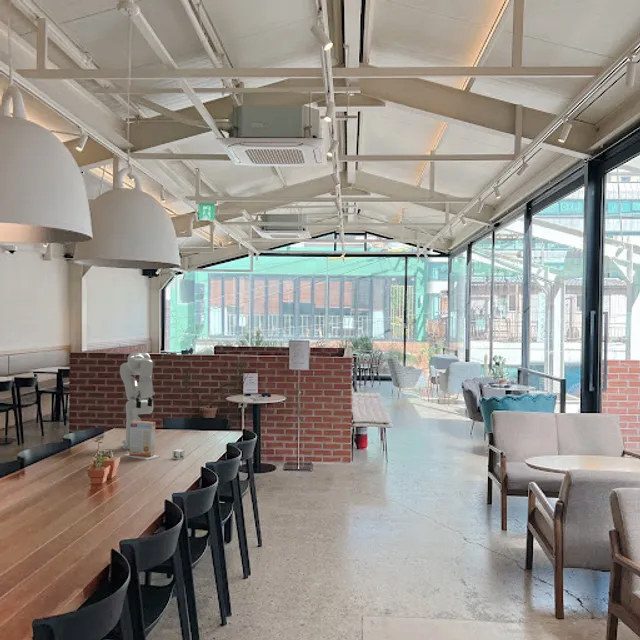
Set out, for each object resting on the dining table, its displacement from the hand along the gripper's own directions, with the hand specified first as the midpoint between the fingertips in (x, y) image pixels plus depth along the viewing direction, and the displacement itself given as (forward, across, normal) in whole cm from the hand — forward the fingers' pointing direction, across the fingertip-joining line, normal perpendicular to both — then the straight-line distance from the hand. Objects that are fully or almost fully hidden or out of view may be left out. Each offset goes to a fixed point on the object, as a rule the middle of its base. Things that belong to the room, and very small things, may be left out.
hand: (144, 407), depth 368 cm
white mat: (+31, 0, +1) cm, 31 cm away
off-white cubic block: (+31, -10, +21) cm, 38 cm away
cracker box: (+30, 0, 0) cm, 30 cm away
